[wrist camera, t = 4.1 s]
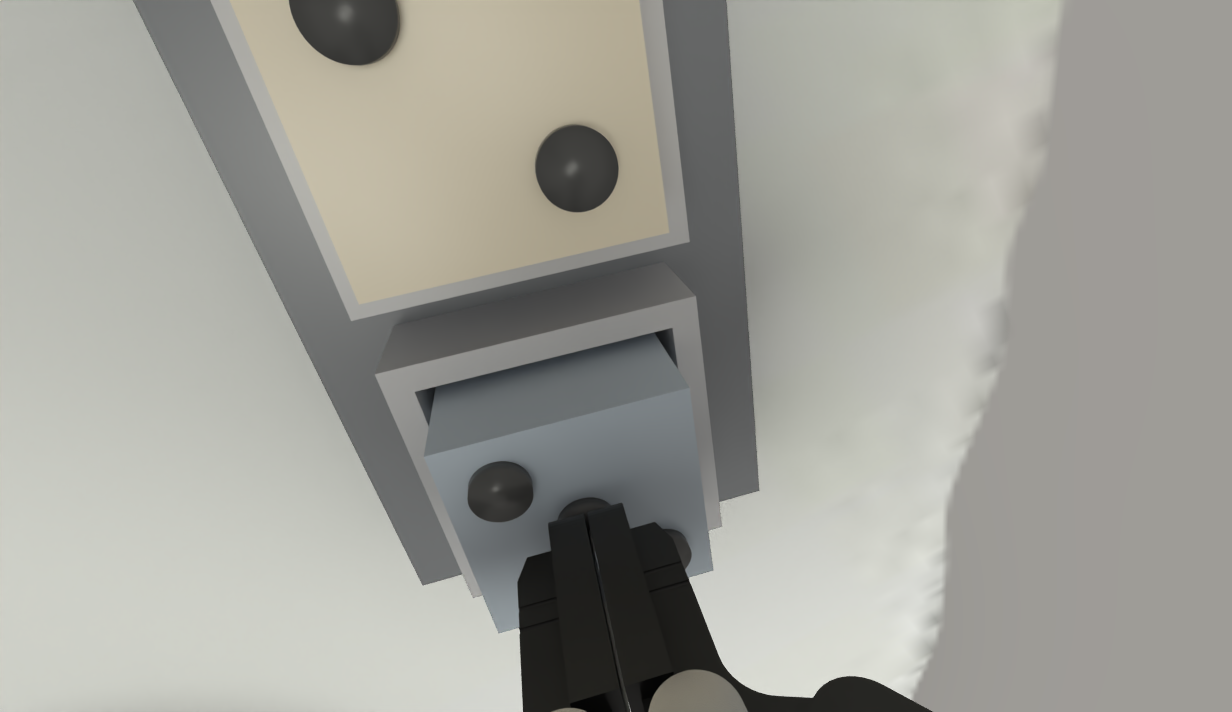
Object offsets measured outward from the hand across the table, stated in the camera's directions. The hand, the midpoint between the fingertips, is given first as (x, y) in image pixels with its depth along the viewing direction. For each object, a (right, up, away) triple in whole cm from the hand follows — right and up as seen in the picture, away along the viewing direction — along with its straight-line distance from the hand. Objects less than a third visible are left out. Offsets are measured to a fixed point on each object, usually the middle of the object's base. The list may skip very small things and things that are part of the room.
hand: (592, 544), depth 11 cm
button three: (-1, +2, +3) cm, 4 cm away
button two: (-2, +9, 0) cm, 9 cm away
